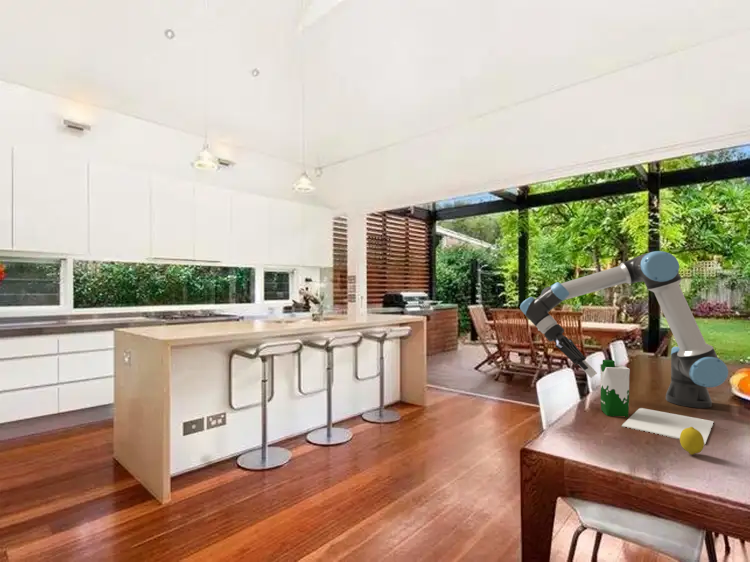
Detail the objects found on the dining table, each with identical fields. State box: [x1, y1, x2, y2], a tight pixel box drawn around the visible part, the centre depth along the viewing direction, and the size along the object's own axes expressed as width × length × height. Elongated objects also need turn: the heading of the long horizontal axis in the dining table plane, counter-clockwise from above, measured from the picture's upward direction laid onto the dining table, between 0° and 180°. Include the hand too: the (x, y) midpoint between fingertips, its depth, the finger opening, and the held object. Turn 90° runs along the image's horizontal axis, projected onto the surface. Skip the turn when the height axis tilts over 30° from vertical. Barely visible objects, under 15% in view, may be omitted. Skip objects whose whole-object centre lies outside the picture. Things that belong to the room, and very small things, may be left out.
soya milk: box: [599, 359, 631, 418], centre depth 156 cm, size 9×9×20 cm
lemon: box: [679, 427, 705, 456], centre depth 120 cm, size 6×6×8 cm
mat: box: [621, 407, 715, 446], centre depth 145 cm, size 22×28×1 cm
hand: (593, 375), depth 161 cm, fingers closed
